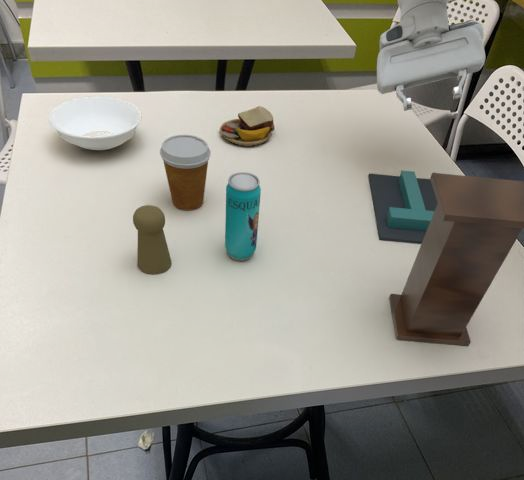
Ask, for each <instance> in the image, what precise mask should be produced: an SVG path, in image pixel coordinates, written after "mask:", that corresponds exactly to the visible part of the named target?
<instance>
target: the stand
mask: <svg viewBox="0 0 524 480" xmlns="http://www.w3.org/2000/svg"><path fill="white" fill-rule="evenodd" d="M429 179H430V180H431V184H432V187H433V190H434V193H435V196H436V199H437V202H438V204H437V206H436V209H435V211H434V214H433V216H432V219H431V221H430V224H429V226H428V229H427V232H426V234H425V237H424V239H423V242H422V244H421V245H420V247H419V249H418V252H417V255H416V257H415V259H414V262H413V265H412V267H411V270H410V272H409V274H408V277H407V279H406V282H405V284H404V287H403V290H402V292H401V293H400V294H399V293H398V294H397V293H390V294H389V297H388V298H389V299H388V300H389V304H390V305H389V306H390V308H391V315H392V321H393V327H394V333H395V339H396V340H397V341H407V342H419V343H429V344H440V345H454V346H465V347H469V346H470V344H471V342H472V341H471V338H470V335H469V332H468V327H467V326H468V325H469V323H470V321H471V319H472V318H473V316H474V314H475V312H476V311H477V309H478V308H479V305H480V304H481V302H482V301H483V299H484V297H485V295H486V293H487V292H488V290H489V288H490V286H491V285H492V283H493V281H494V279H495V278H496V276H497V274H498V273H499V271H500V269H501V267H502V265H503V263H504V262H505V260H506V259H507V257H508V255H509V253H510V252H511V250H512V248H513V246H514V244H515V243H516V241H517V239H518V237H519V236H520V234H521V232H522V230H523V229H524V181H522V180H512V179H502V178H491V177H482V176H472V175H461V174H450V173H439V172H431V174H430V178H429Z"/></svg>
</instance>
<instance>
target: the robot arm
mask: <svg viewBox="0 0 524 480" xmlns="http://www.w3.org/2000/svg"><path fill="white" fill-rule="evenodd" d="M455 1H456V0H397V6H398V8H399V10H400V17H399V22H398V23H397V24H396V25H393V26H392V27H390V28H389V29H387V30H386V31H384V32H382V33H381V34H380V37H379V40H378V41H379V43H378V44H379V45H378V49H379V52H378V55H377V57H376V58H377V59H376V88H377V91H378V92H379V93H380V94H381V95H385V94H390V93H393V92H395V95H396V98H397V99H398V100H399V101H400V102H401V103H402V107H403V112H406V111H410V110H412V108H413V107H412V106H413V105H412V98H411V97H406V95H405V94H404V91H405V90H406V89H410V88H415V87H418V86H423V85H427V84H431V83H436V82H440V81H444V80H448V79H451V78H457V82H459V83H458V86H453V88H452V99H453V100H458V99H462V98H463V85H464V83H465V82H466V79H467V75H468V74H472V73H477V72H479V71H481V69H482V68H483V66H484V65H485V62H486V51H485V45H484V42H483V41H484V40H483V39H484V27H483V24H482V23H481V22H480V21H478V20H477V21H476V20H474V19H468V20H465V21H464V22H457V23H454V24H450V23H449V16H448V4H449V3H452V2H455Z"/></svg>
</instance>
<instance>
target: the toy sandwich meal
mask: <svg viewBox="0 0 524 480" xmlns="http://www.w3.org/2000/svg"><path fill="white" fill-rule="evenodd" d="M274 131H275V123H274V116H273V114H272V113H271V112H270V110H268V109H267V108H266V107H263V106H260V105H258V106H256V107H254V108H251V109H248V110H244V111H241V112H238V113H237V118H234V119H230V120H227V121H225V122H223V123H222V124H221V126H220V127H219V132H220V134H221V136H222V137H223V138H224V139H225V138H226V139H227V140H226V139H225V140H226V141H227V142H229V141H230V142H229V143H231V142H232V143H231V144H233V143H235V144H234V145H236V144H238V145H237V146H241V145H245V146H244V147H253V146H252V145H255V146H259V145H262V144H263V143H265V142H266V141H267V140H268V139H270V137H271V136H272V132H274ZM261 143H262V144H261ZM258 144H259V145H258Z"/></svg>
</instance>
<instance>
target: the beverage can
mask: <svg viewBox="0 0 524 480" xmlns="http://www.w3.org/2000/svg"><path fill="white" fill-rule="evenodd" d="M260 184H261V182H260V179H259V177H258V176H257V175H255V174H253V173H251V172H246V171H239V172H235V173H232V174H231V175H230V176H229V177H228V179H227V184H226V186H225V222H224V223H225V229H224V238H225V239H224V248H225V251H226V253H227V255H228V257H230V258H231V259H233V260H235V261H240V262H244V261H247V260H250V259H251V258H252V257H253V255H254V253H255V251H256V249H257V245H258V244H257V242H258V231H259V230H258V229H259V218H260V217H259V216H260V206H261V193H262V192H261V191H262V188H261V185H260Z"/></svg>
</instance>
